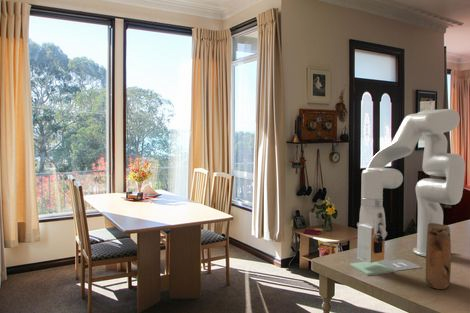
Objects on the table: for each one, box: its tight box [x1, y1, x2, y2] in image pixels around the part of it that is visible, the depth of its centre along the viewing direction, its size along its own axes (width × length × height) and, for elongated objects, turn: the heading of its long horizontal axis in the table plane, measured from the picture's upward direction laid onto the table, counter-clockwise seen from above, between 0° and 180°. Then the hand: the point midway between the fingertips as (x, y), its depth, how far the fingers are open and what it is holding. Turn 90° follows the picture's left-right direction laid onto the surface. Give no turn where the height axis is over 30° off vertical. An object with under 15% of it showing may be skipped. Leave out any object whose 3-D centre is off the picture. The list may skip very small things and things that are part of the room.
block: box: [424, 223, 452, 290], centre depth 130 cm, size 11×8×20 cm
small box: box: [356, 224, 386, 263], centre depth 145 cm, size 8×6×13 cm
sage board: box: [349, 261, 394, 276], centre depth 146 cm, size 11×11×1 cm
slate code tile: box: [377, 258, 423, 272], centre depth 150 cm, size 12×10×1 cm
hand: (371, 249), depth 146 cm, fingers closed on small box, 7 cm apart
